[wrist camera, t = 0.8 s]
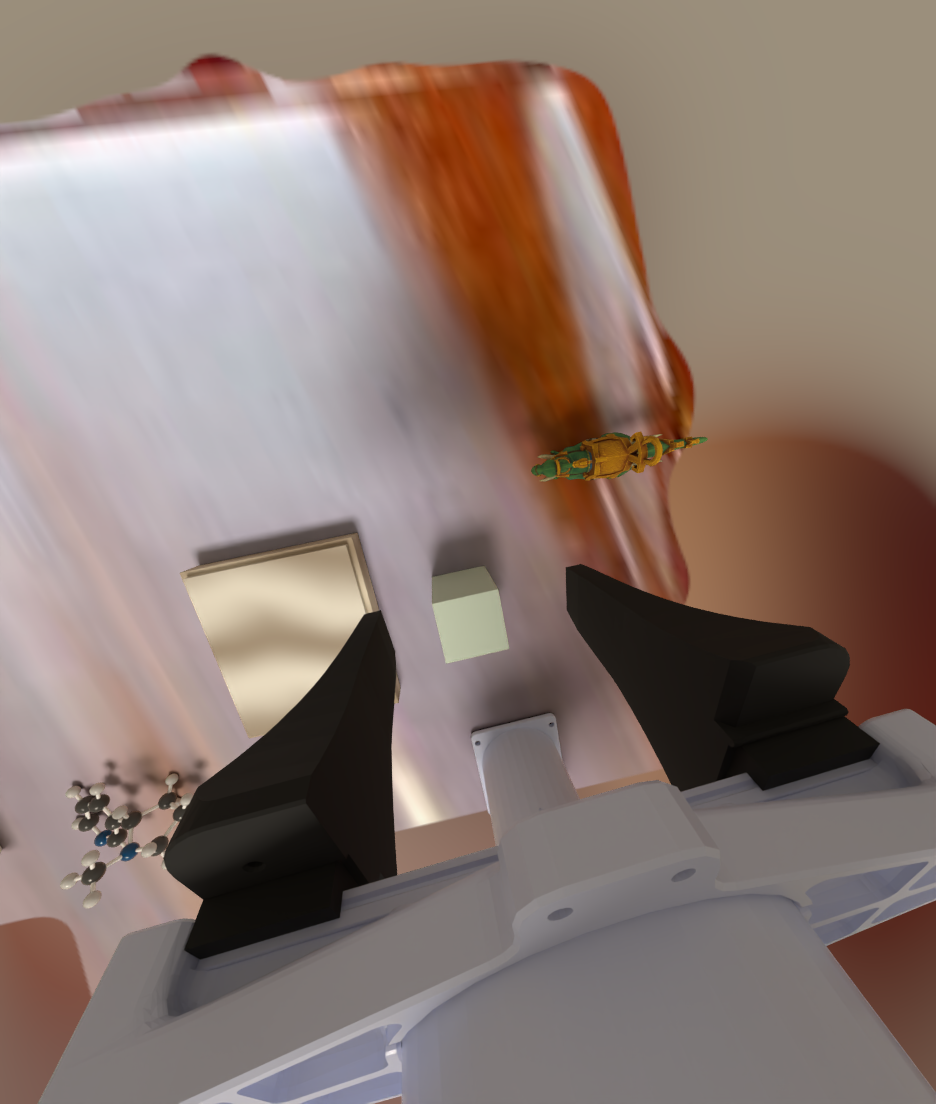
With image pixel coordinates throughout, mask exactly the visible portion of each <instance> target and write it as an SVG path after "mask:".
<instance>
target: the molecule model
mask: <svg viewBox="0 0 936 1104" xmlns="http://www.w3.org/2000/svg"><path fill="white" fill-rule="evenodd" d="M177 780H178V775H177V774H171V775H169V776H168V777H167V778H166V781H165V783H166V784H167V785H169V788H168V792H167V793H166V794H164V795H163V796H162V797H161V798H160V799H159V802H158V804H157V805H156V806H154V807H152V808H150V809H148V810H146V811H144V812H143V813H141V812H140V811H132V812H130V813H128V814H126V813H127V811H128V808H127V807H126V806H119V807H118V808H116V809H115V810H114V811H113V813H112V812H111V811H110V810H109V809H108V808H107V805H108V804H109V802H110V797H109V796H108V795H106V794H102V795H100V793H101V792H102V791H103V790H104V789H105V784H104V783H96V784H95V785H93V786H92V787H91V788H90V791H89V792H90V794H91V795H96V797H94V796H87V797H84V798H82V797H81V796H80V795H79V793H80V792H81V787H80V786H73V787H71V788H69V789H68V790H67V792H66V797H67V798H73V797H75V798H76V799H77V800H78V801H79V802H78V803H77V804H76V806H75V811H76V813H78V814H83V813H85V817H80V818H77V819H76V820H75V821H74V822H73V823H72V826H71V827H72V829H74V830H77V829H79V830H80V831H83V832H85V831H89V830H91V829H92V830H93V831H94V832H95V833H96V834H97V836H96V838H95V840H94V844H95V845H96V846H98V847H100V846H104V845H106V844H107V845H108V846H109V847H117V846H119V845H121V846H122V847H123V849H122V850H121V852H120V856H118V857H117V858H115V859H113V860H112V861H110V862H109V863H107V864H105V863H103V862H96V861H97V860H98V858H99V855H100V853H99V851H98V850H92V851H90V852H88V853H87V854H85V855H84V857H83V858H82V861H81V864H82V865H83V866H89V867H88V868H87V869H86V870H85V871H84V872H83V874H82V875H80V876H79V874H78V873H71V874H68V875H67V876H66V877H65V878H64V879H63V880H62V881H61V884H60V887H61V888H62V889H69V888H71V887H72V886H74V885H75V884H76V883H77V881H78V880H81V882H82V884H84V885H91V887H90V894H88V895H87V896H86V898H85V899H84V901H83V907H84V908H91V907H93V906H95V905H96V904H97V903H98V902H99V900H100V899H101V892H100V891H98V890H97V891H95V889H96V882H97V881H99V880H100V879H101V878H102V877H103V875H104V874H105V872H106V868H107V867H109V866H110V865H112V864H113V863H115V862H117V861H118V860H122V861H129V860H131V859H133V858H134V857H135V856H136V855H137V854H138V852H140V851H141V856H142V857H144V858H147V857H150V856H157V855H159V854H161V856H162V857H164V854H165V851H164V850H165V849H166V848H167V846H168V842H169V841H168V838H167V836H168V834H169V833H170V832H171V830H172V829H173V827H174V826H175V825H176V823H177V822H180V821H181V819H182V817H183V815H184V813H185V811H186V809H187V807H188V805H189V803H190V801H191V799H192V797H193V794H192V793H186V794H185V795H183V796H182V798H179V797H177V795H176V794H175V793H174V792H171V791H172V786H173V784H175V783H176V782H177ZM180 804H181V805H180ZM158 807H159V808H160V809H162V810H165V809H168V808H170V809H175V811H174V813H173V819H174V820H175V821H174V822H173V823H172V825H171V826H170V828H169V829H168V830H167V832H166V833H165V834H164V836H158V837H156V838H155V839H153V840H152V841H151V843H148V844H146V845H145V846H144V847H140V846H139V844H138V843H136V842H133V828H134V827H136V826H137V825H138V824H139V823H140V821H141V819H142V816H144V815H145V814H147V813H149V812H151V811H153V810H155V809H156V808H158ZM102 810H103V811H104V812H105V813H106V814H107V815H108V818H107V820H106V822H105V828H106V829H108V830H104V831H102V832H101V831H100V830H99V829H98V828H97V827H96V825H97V824H98V822H99V816H98V815H97V814H90V812H93V813H95V812H99V811H102ZM89 811H90V812H89ZM120 826H121V827H122V828H121V829H119V828H118V827H120ZM112 830H114V832H113V831H112ZM127 830H129V837H128V844H126V843H125V842H124V841H125V839H126V838H127V834H128V833H127ZM95 862H96V863H95ZM162 868H163V869H164V870H167V869H166V867H165V863H164V860H163V862H162Z"/></svg>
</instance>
